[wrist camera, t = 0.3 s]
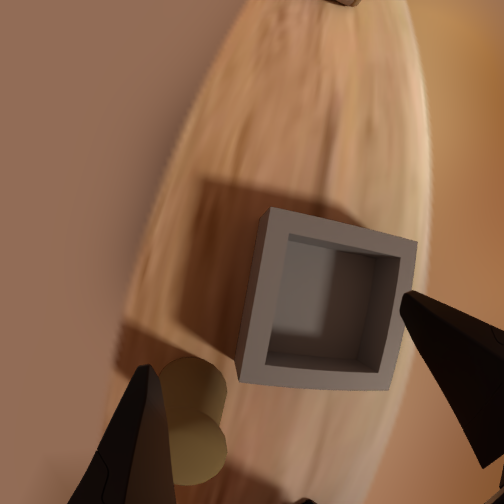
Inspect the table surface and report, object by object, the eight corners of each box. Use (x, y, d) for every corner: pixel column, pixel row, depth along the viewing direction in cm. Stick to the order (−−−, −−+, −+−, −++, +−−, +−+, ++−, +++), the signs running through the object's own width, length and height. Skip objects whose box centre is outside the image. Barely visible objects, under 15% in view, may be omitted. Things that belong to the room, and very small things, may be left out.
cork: (170, 424, 24) (150, 503, 13) (147, 364, 24) (108, 425, 13) (235, 411, 24) (248, 489, 13) (216, 349, 24) (218, 408, 13)
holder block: (362, 372, 26) (388, 390, 21) (234, 360, 24) (238, 382, 20) (386, 245, 27) (417, 241, 22) (259, 218, 25) (270, 206, 20)
